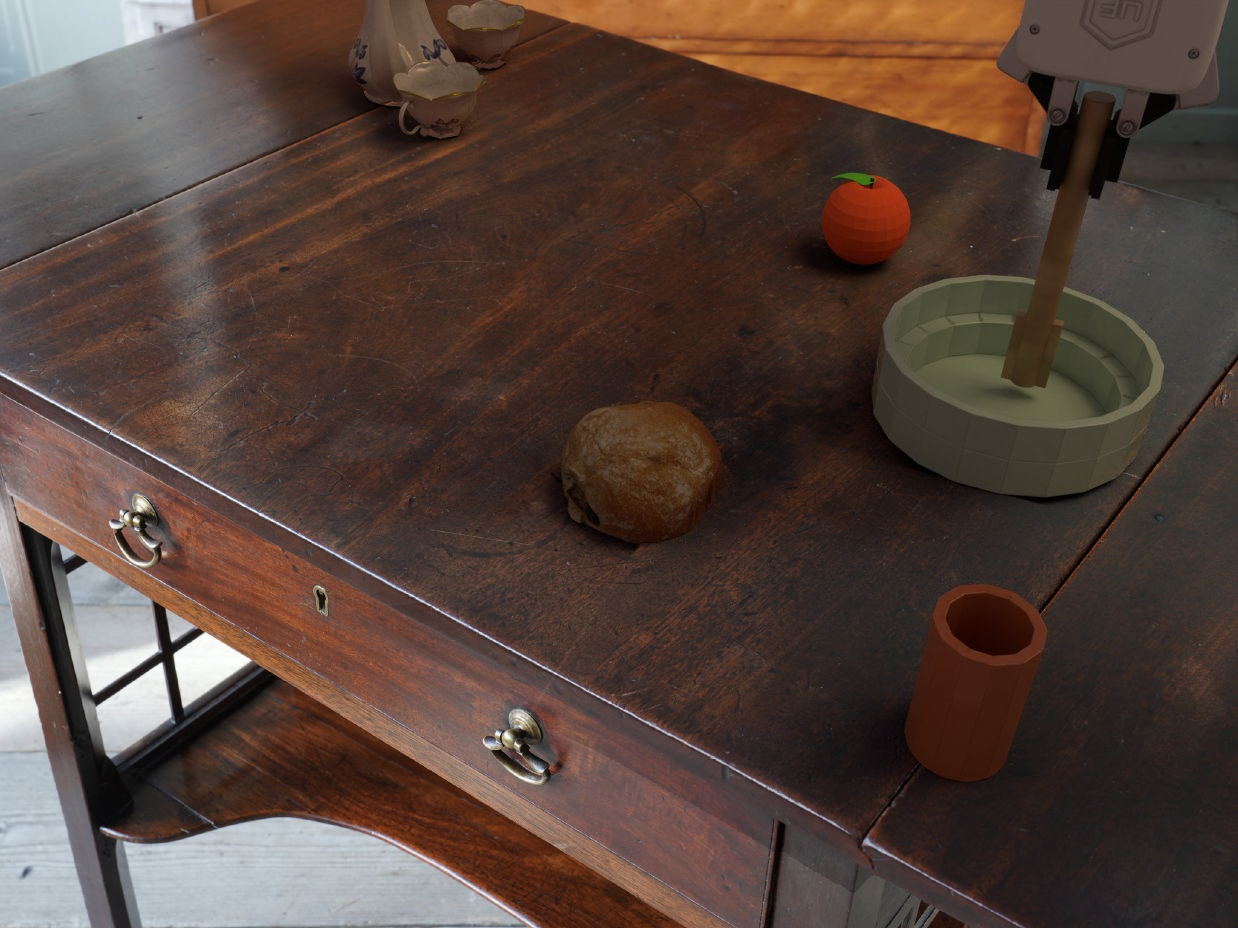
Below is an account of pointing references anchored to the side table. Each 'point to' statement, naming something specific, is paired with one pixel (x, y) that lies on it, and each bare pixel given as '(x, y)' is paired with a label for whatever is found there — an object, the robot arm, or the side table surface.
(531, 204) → the side table surface
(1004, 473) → the bowl
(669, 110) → the side table surface
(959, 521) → the side table surface
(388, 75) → the chinaware
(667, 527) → the bread roll
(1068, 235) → the stick
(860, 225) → the clementine
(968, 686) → the holder
